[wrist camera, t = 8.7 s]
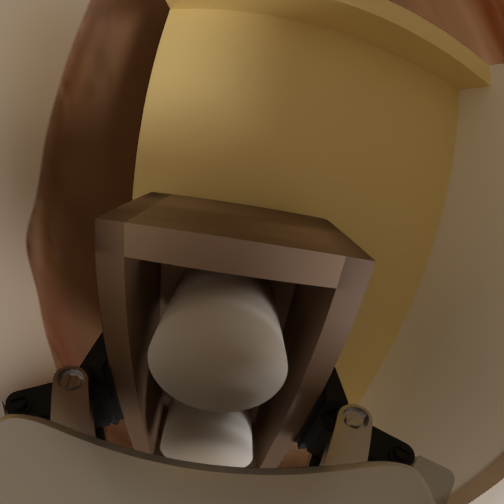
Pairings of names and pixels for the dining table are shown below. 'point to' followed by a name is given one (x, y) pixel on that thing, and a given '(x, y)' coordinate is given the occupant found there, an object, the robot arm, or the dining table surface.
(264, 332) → the caddy
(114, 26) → the dining table surface
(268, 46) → the counter shelf
